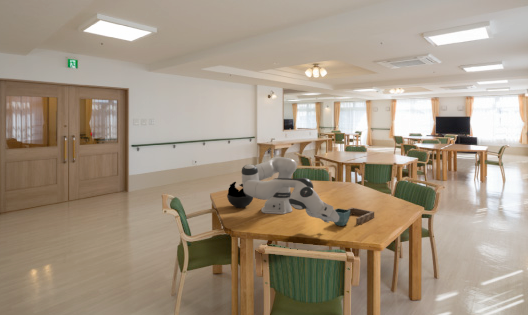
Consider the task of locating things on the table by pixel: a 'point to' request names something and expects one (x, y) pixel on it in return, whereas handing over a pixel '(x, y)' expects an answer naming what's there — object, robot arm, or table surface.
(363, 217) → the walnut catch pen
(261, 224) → the table surface
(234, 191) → the bowl of black rocks
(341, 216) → the flower pot
